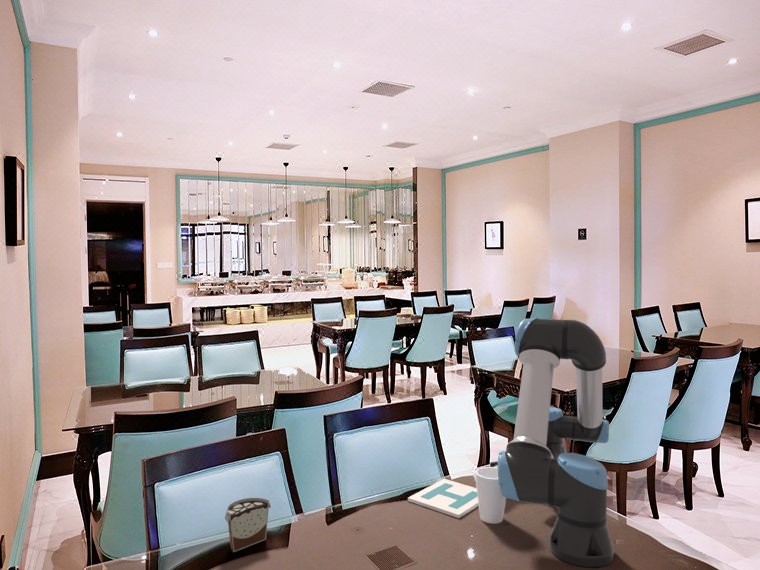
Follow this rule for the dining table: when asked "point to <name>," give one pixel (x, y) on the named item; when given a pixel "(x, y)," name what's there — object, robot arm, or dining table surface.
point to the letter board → (447, 498)
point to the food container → (247, 522)
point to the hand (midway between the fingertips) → (507, 481)
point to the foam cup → (489, 495)
